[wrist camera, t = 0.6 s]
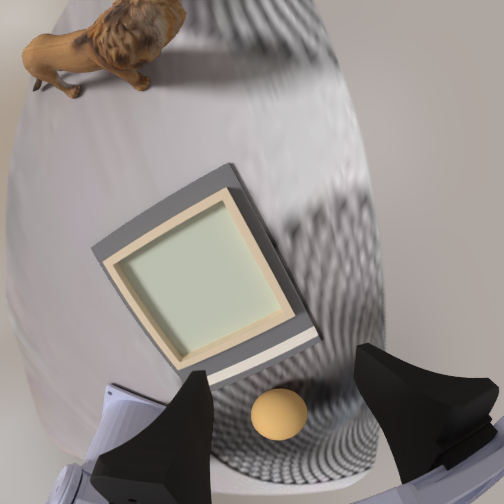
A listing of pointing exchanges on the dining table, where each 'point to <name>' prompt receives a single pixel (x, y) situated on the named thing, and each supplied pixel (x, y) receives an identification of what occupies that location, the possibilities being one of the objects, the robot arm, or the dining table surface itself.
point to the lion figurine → (107, 44)
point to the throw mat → (207, 283)
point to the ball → (279, 414)
